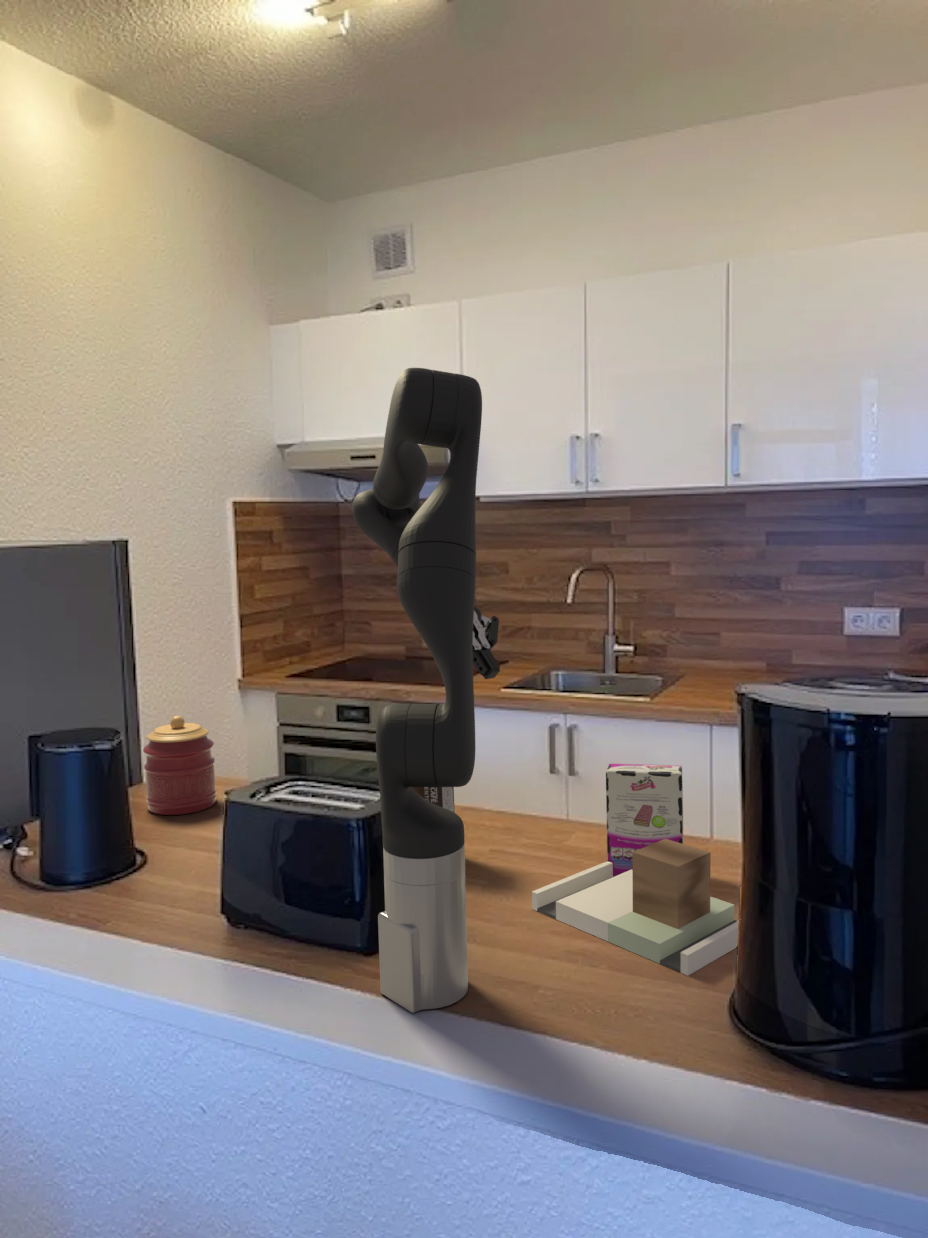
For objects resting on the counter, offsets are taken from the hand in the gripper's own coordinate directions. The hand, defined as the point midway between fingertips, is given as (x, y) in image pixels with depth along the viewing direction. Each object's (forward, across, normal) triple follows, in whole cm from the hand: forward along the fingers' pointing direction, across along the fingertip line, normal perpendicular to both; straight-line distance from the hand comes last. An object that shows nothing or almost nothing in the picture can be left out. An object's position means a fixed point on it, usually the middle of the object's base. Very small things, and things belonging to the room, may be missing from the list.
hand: (493, 675), depth 127 cm
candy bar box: (+30, +21, +16) cm, 40 cm away
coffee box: (+10, +1, +36) cm, 37 cm away
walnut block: (+38, +8, +4) cm, 39 cm away
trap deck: (+37, +8, +8) cm, 38 cm away
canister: (-29, -15, +74) cm, 81 cm away
